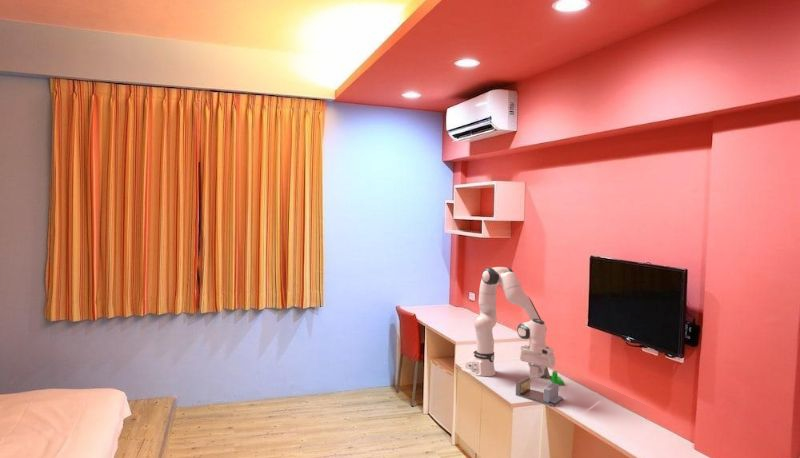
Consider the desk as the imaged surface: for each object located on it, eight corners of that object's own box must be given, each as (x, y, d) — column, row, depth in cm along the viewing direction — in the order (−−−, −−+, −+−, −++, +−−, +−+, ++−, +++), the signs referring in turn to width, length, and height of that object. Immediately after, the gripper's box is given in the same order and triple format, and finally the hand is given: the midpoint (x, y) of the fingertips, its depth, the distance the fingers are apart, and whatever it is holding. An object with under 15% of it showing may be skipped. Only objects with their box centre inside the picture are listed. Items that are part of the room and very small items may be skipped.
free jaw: (542, 400, 274) (543, 388, 274) (552, 394, 283) (552, 382, 283) (554, 404, 270) (554, 391, 269) (563, 397, 279) (563, 385, 279)
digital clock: (551, 379, 314) (551, 365, 313) (539, 380, 313) (540, 366, 312) (542, 372, 327) (542, 359, 327) (530, 373, 326) (531, 359, 326)
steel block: (529, 376, 281) (529, 365, 281) (535, 372, 288) (536, 362, 287) (537, 378, 278) (538, 367, 278) (544, 374, 284) (544, 364, 284)
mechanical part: (563, 385, 304) (564, 372, 304) (554, 385, 304) (554, 372, 304) (559, 379, 316) (559, 366, 316) (549, 378, 316) (550, 366, 316)
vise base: (515, 395, 285) (516, 381, 284) (526, 389, 294) (526, 376, 294) (553, 406, 270) (554, 391, 269) (563, 400, 279) (563, 385, 279)
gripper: (518, 345, 287) (517, 369, 287) (552, 352, 273) (551, 377, 274) (523, 343, 291) (522, 366, 292) (556, 350, 278) (556, 374, 279)
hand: (536, 371), depth 283 cm, fingers closed on steel block, 5 cm apart
